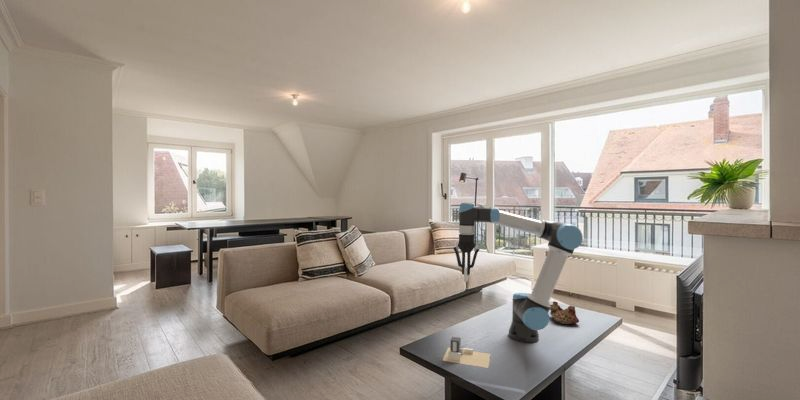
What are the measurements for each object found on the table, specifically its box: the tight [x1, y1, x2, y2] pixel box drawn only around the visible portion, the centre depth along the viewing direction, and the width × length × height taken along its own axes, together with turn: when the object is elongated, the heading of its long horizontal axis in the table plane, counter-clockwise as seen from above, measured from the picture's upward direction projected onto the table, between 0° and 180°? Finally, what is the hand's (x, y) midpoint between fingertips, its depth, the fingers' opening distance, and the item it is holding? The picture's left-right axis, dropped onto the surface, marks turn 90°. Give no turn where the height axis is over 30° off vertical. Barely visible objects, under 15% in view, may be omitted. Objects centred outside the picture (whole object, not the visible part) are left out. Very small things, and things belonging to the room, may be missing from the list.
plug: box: [449, 336, 462, 353], centre depth 159 cm, size 4×5×8 cm
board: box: [442, 346, 492, 369], centre depth 159 cm, size 20×14×4 cm
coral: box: [549, 300, 580, 325], centre depth 210 cm, size 18×13×15 cm
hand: (465, 281), depth 172 cm, fingers closed
